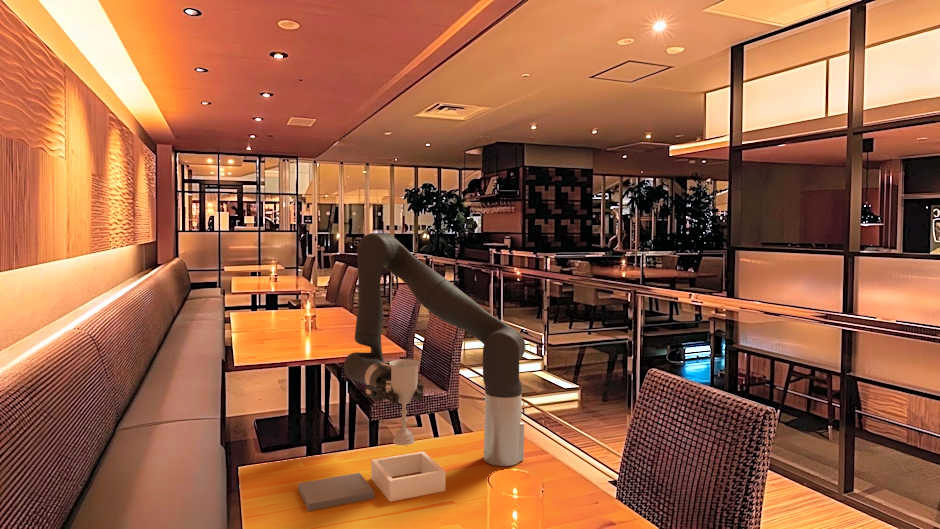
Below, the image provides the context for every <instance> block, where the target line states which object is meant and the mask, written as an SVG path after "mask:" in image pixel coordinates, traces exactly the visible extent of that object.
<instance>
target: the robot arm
mask: <svg viewBox="0 0 940 529" xmlns="http://www.w3.org/2000/svg"><path fill="white" fill-rule="evenodd" d="M356 256H357V276H358V278H357V279H358V280H357V281H358V287H357V288H358V295H357V296H358V300H357V301H358V303H357V316H356V322H355V330H354V341H355V342H356V343H357V344H359V345H361V346H366V347H370V352H361V351H360V352H357V351H356V352H351V353H349V354H348V355H347V357H346V358H345V360H344V364H343V369H344V372H345V375H346V376H347V377H348V379H350V380H352V381H354V382H358V383H361V384H365V396H366V397H367V398H369V399H372V400H374V401H376V402H382V401H383V400H385V401H386V402H389V403H390V404H391V403H392V404H393V405H394V406H397V405H399V402H398V395H397V394H396V393H395V392H394V391H393V388H392V385H391V366H390V364H388V363H385V361H384V360H385V359H384V356H383V350H382V348H383V347H382V334H383V333H382V332H383V324H384V307H383V301H382V294H381V282H382V275H383V270H384V269H386V270H387V271H388V272H390V273H392V274H393V275H394V276H396V277H397V278H399V279H400V280H401V281H403V283H404V284H405V285H406V286H407V287H408V289H409V290H410V292H411V294H412V295H413V296H414V298H415V299H416V300H417V302H418V303H420V305H422V307H424V308H425V309H427V311H429V312H430V313H431V314H432V315H434V316H436V317H437V318H438V319H440V320H442V321H443V322H445V323H447V324H450V325H451V326H454V327H456V328H459V329H461V330H463V331H465V332H466V333H469V335H472V336H473V337H475V338H476V339H477V340H479V342H481V343H482V344H483V349H482V380H483V385H484V429H483V430H484V432H483V433H484V434H483V435H484V436H483V437H484V438H483V440H484V441H483V446H484V447H483V461H484V462H485V463H487V464H489V465H492V466H497V467H499V466H500V467H509V466H514V465H517V464H519V463H520V462H522V461H523V462H524V460H525V459H524V453H525V451H524V450H525V448H524V447H525V446H524V445H525V423H524V422H523V421H522V400H523V399H522V394H523V392H522V391H523V389H522V388H523V385H522V384H523V383H522V381H521V380H520V359H521V358H522V357H523V356H524V354H525V352H526V342H525V338H524V337H523V335H522V333H520V332H519V331H518V330H516V329H515V328H514V327H512V326H510V325H509V324H507V323H505V322H504V321H502V320H501V319H498V318H497V317H496V316H494V315H492V314H491V313H490V312H488V311H487V310H485V309H484V308H483V307H482V306H480V305H479V304H478V303H477V302H476V301H475V300H474V299H472V298H471V297H470V296H468V295H467V294H466V293H465V292H463V290H461V289H459V287H457V286H456V285H455V284H453V283H452V282H451V281H449V280H448V279H447V278H446V277H444V276H442V275H441V274H440V273H438V272H437V271H435V270H434V269H433V268H431V267H430V266H429V265H427V264H425V263H424V262H423V261H421V260H419V259H418V258H417V257H416V256H415V255H413V253H412V252H410V251H409V250H408V248H406V247H405V246H404V245H403V244H402V243H401V242H400V241H399V240H398V239H397V238H395V236H393V235H391V234H388V233H384V232H383V233H382V232H378V233H376V232H373V233H369V234H366V235H364V236H363V237H362V238H360V240H359V242H358V244H357V252H356ZM424 387H425V386H424V384H423V382H422V380H421V379H419V378H418V383H417V387H416V390H415V393H414V395H413V397H412V399H413V400H414V401H416V402H417V403H420V402H422V400H423V397H424Z"/></svg>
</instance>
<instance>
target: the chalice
mask: <svg viewBox="0 0 940 529" xmlns="http://www.w3.org/2000/svg"><path fill="white" fill-rule="evenodd" d="M420 363H421V362H420V361H419V360H416V359H413V358H412V359H411V358H409V359H407V358H404V359H403V358H401V359H393V360H391V361H390V362H389V364H388V365H390V366H391V385H392V388H393V391H394V392H395V393H396V394H397V395H398V404H401V407H402V408H401V411H400V414H401V418H400V420H399V421H400V422H401V428H400V429H398V430H397V431H396V432H395V435H394V437H393V440H392V443H393V444H394V445H397V446H408V445H412V444H414V443H416V440H415V438H414V435H413V432H412V431H411V430H410V429H408V428H407V422H408V418H407V414H408V410H407V404H409V403H411V400H412V399H413V398H412V397H413V395H414V393H415V390H416V387H417V383H418V379H419V377H418V376H419V374H418V373H419V372H418V370H419V369H418V368H419V366H420Z"/></svg>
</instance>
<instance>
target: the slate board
mask: <svg viewBox="0 0 940 529" xmlns="http://www.w3.org/2000/svg"><path fill="white" fill-rule="evenodd" d="M297 490H298V494H299V495H300V497H301V499H302V500H303V503H304V504H305V507H306V508H307V510H308V512H311V511H316V510H321V509H327V508H331V507H336V506H341V505H342V506H343V505H347V504H351V503H357V502H363V501H367V500H371V499H375V491H374V489H373V488H372V487H371V485H370V484H369V483H368V482H367V480H366V479H365V478H364V477H363V475H362V474H361V472H356V473H351V474H346V475H345V474H344V475H340V476H333V477H327V478H323V479H322V478H321V479H316V480H315V479H314V480H309V481H303V482H299V483H297Z"/></svg>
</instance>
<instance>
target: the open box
mask: <svg viewBox="0 0 940 529" xmlns="http://www.w3.org/2000/svg"><path fill="white" fill-rule="evenodd" d="M415 473H417V474H415ZM446 473H447V472H446V470H445V469H444V468H443V467H442V466H441V465H440V464H438V463H437V462H436V461H435V460H434V459H433V458H432V457H431V456H429V455H428V454H427V452H425V451H423V450H422V451H417V452H411V453H405V454H399V455H393V456H388V457H387V456H386V457H382V458H381V457H380V458H375V459H374V458H373V459H371V472H370V477H371V478H370V479H371V481H372V482H373V483H374V484H375V485H376V486H377V488H378V489H379V490H380V491H381V493H382V495H383V496H385V498H386V499H387V500H388V501H389V502H395V501H401V500H405V499H411V498H416V497H421V496H426V495H431V494H437V493H441V492H445V491H446V485H447V484H446V480H447V479H446V477H447V476H446V475H447V474H446ZM410 474H413V475H410ZM406 475H407V476H406ZM399 476H400V477H399ZM394 477H396V478H394Z"/></svg>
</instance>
